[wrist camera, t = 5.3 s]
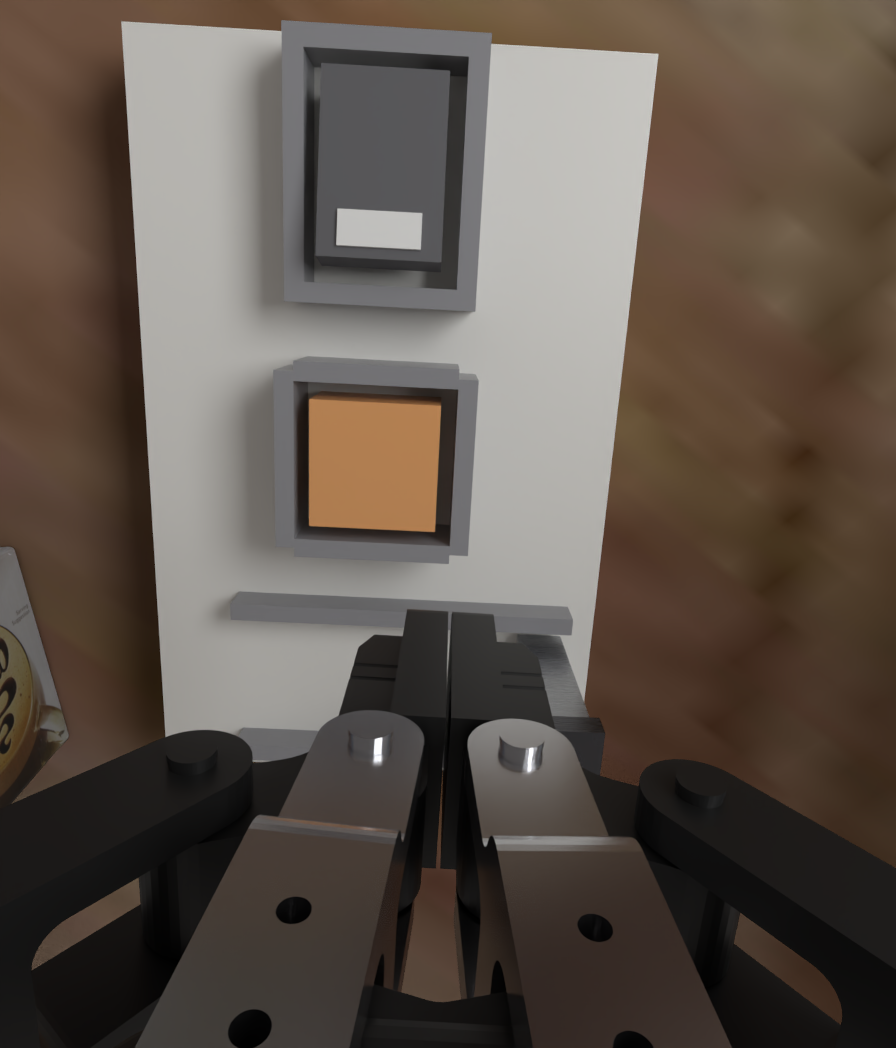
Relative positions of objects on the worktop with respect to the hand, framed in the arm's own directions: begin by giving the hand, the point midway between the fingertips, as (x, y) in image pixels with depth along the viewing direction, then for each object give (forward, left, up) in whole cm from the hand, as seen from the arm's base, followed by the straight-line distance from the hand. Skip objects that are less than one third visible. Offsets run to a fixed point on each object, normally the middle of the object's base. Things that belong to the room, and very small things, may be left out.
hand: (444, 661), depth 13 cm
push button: (+2, -1, -13) cm, 13 cm away
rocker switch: (+2, -10, -12) cm, 16 cm away
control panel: (+2, -1, -17) cm, 17 cm away
